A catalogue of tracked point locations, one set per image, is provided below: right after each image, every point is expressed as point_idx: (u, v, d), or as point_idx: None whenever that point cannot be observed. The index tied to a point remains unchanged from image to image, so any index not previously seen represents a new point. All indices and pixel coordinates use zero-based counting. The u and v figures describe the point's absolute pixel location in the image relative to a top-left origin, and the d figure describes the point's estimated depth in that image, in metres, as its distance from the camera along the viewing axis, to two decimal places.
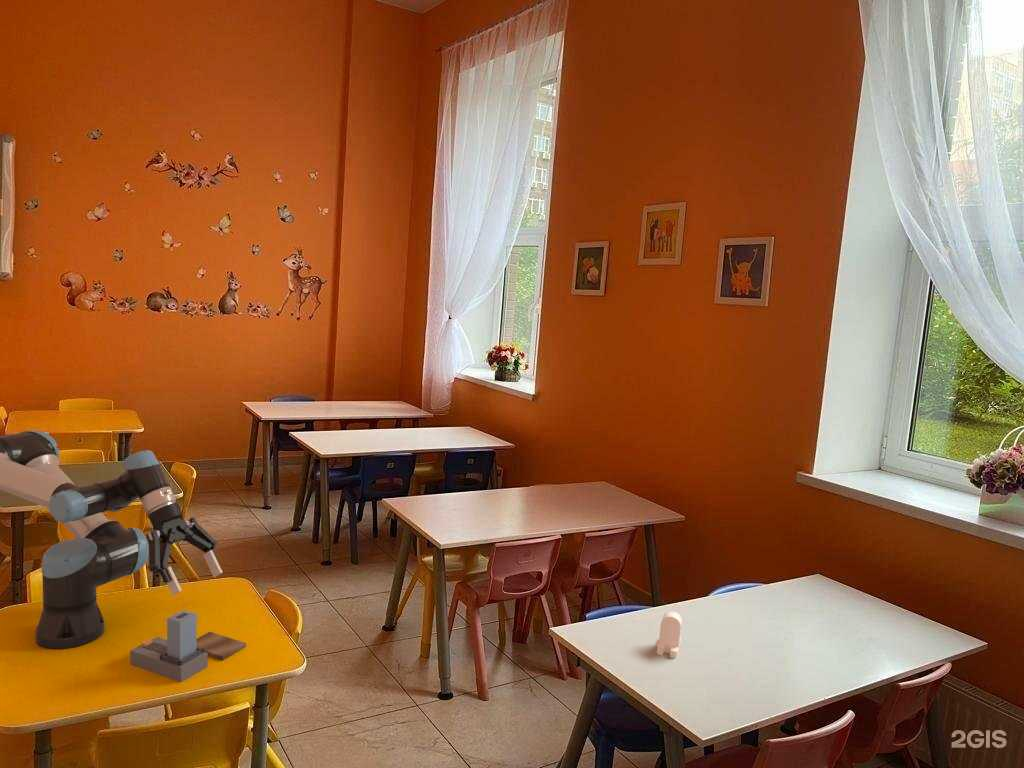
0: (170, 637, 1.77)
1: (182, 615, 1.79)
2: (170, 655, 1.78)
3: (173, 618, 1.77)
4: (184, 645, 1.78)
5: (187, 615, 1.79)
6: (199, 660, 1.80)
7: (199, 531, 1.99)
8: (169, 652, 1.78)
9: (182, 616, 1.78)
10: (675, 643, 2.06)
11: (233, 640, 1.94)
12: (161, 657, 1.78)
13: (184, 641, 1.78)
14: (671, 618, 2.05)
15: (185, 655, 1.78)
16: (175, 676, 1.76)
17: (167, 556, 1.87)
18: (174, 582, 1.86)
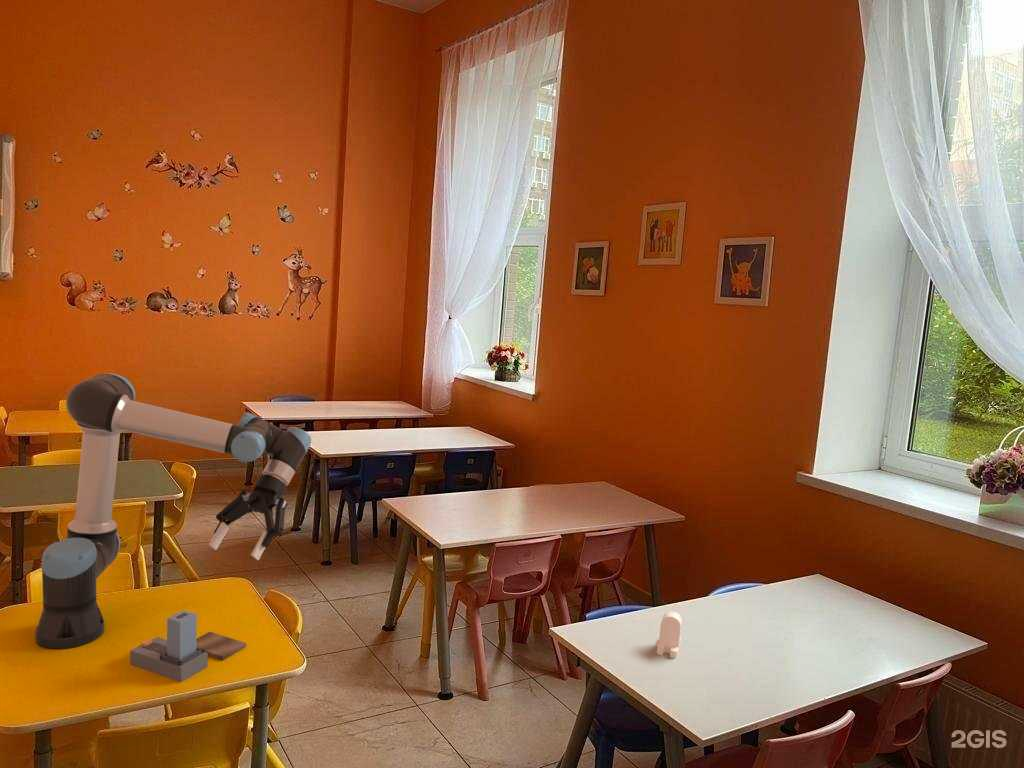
0: (170, 637, 1.77)
1: (182, 615, 1.79)
2: (170, 655, 1.78)
3: (173, 618, 1.77)
4: (184, 645, 1.78)
5: (187, 615, 1.79)
6: (199, 660, 1.80)
7: (239, 507, 2.02)
8: (169, 652, 1.78)
9: (182, 616, 1.78)
10: (675, 643, 2.06)
11: (233, 640, 1.94)
12: (161, 657, 1.78)
13: (184, 641, 1.78)
14: (671, 618, 2.05)
15: (185, 655, 1.78)
16: (175, 676, 1.76)
17: None
18: (262, 550, 1.91)
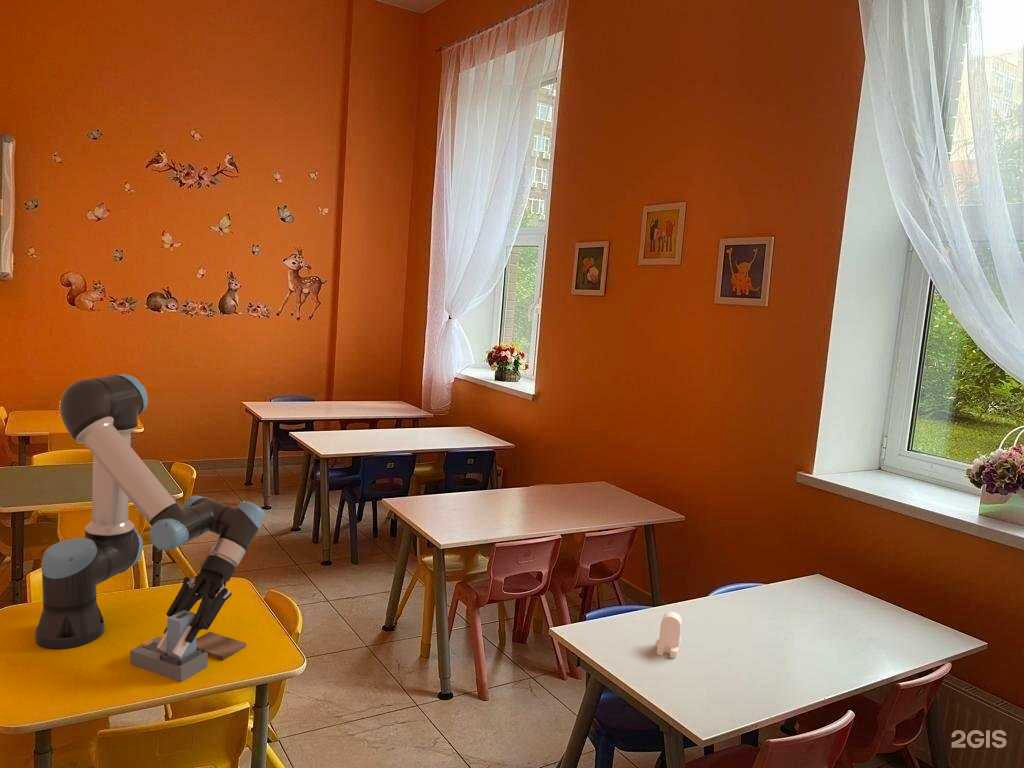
0: (171, 637, 1.77)
1: (182, 615, 1.79)
2: (170, 655, 1.78)
3: (173, 618, 1.77)
4: None
5: (187, 615, 1.79)
6: (199, 660, 1.80)
7: (187, 596, 1.86)
8: (169, 652, 1.78)
9: (182, 616, 1.78)
10: (675, 643, 2.06)
11: (233, 640, 1.94)
12: (161, 657, 1.78)
13: None
14: (671, 618, 2.05)
15: (185, 655, 1.78)
16: (175, 676, 1.76)
17: None
18: (186, 646, 1.77)
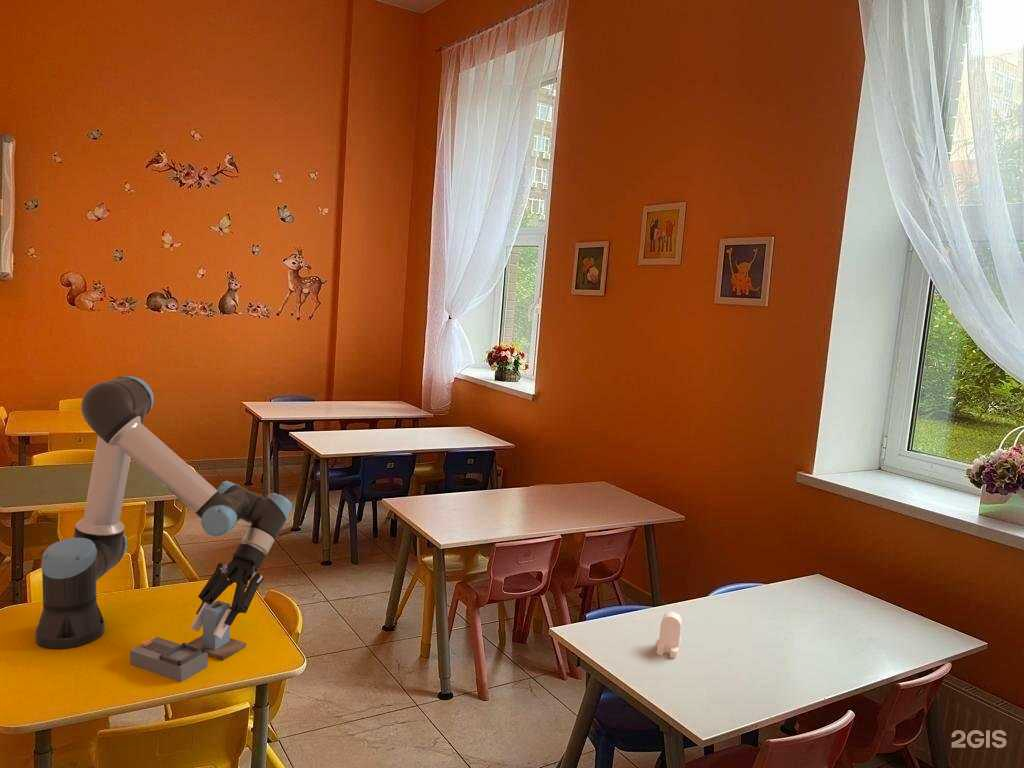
0: (206, 626, 1.89)
1: (217, 605, 1.90)
2: (206, 643, 1.90)
3: (208, 607, 1.89)
4: None
5: (221, 605, 1.91)
6: (199, 660, 1.80)
7: (218, 581, 1.98)
8: (204, 639, 1.90)
9: (217, 606, 1.90)
10: (675, 643, 2.06)
11: (233, 640, 1.94)
12: (161, 657, 1.78)
13: None
14: (671, 618, 2.05)
15: (220, 643, 1.90)
16: (175, 676, 1.76)
17: None
18: (225, 628, 1.89)
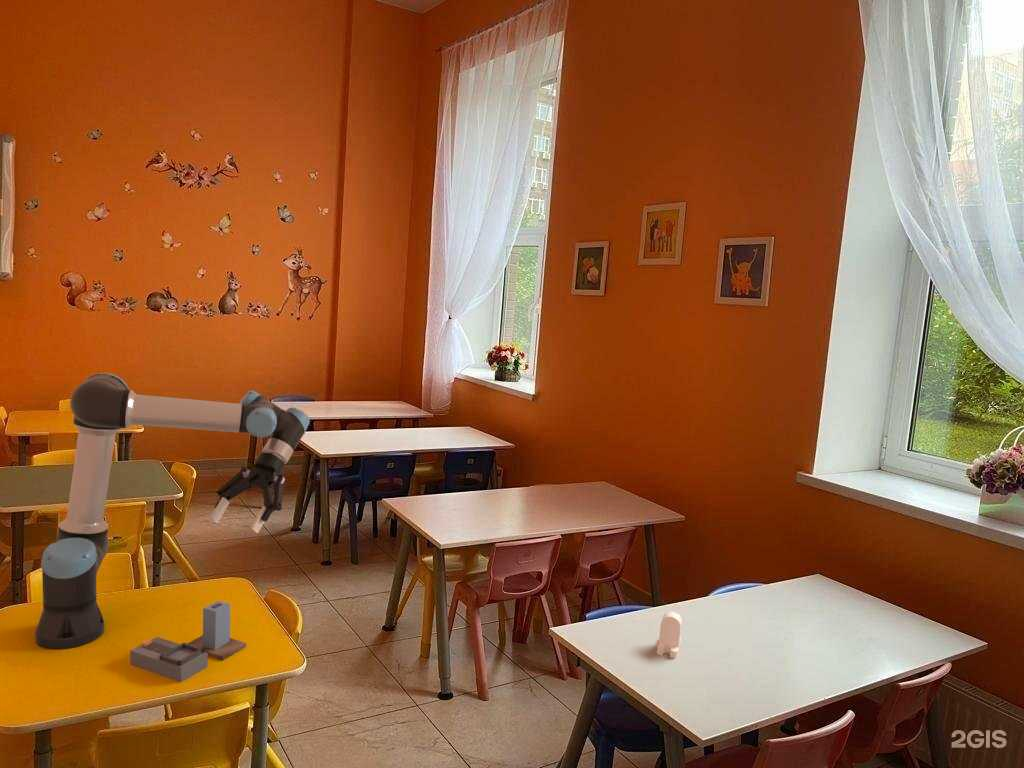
0: (206, 626, 1.89)
1: (217, 605, 1.90)
2: (206, 643, 1.90)
3: (208, 607, 1.89)
4: (219, 633, 1.90)
5: (221, 605, 1.91)
6: (199, 660, 1.80)
7: (239, 483, 2.10)
8: (204, 639, 1.90)
9: (217, 606, 1.90)
10: (675, 643, 2.06)
11: (233, 640, 1.94)
12: (161, 657, 1.78)
13: (218, 630, 1.89)
14: (671, 618, 2.05)
15: (220, 643, 1.90)
16: (175, 676, 1.76)
17: None
18: (261, 524, 1.99)
